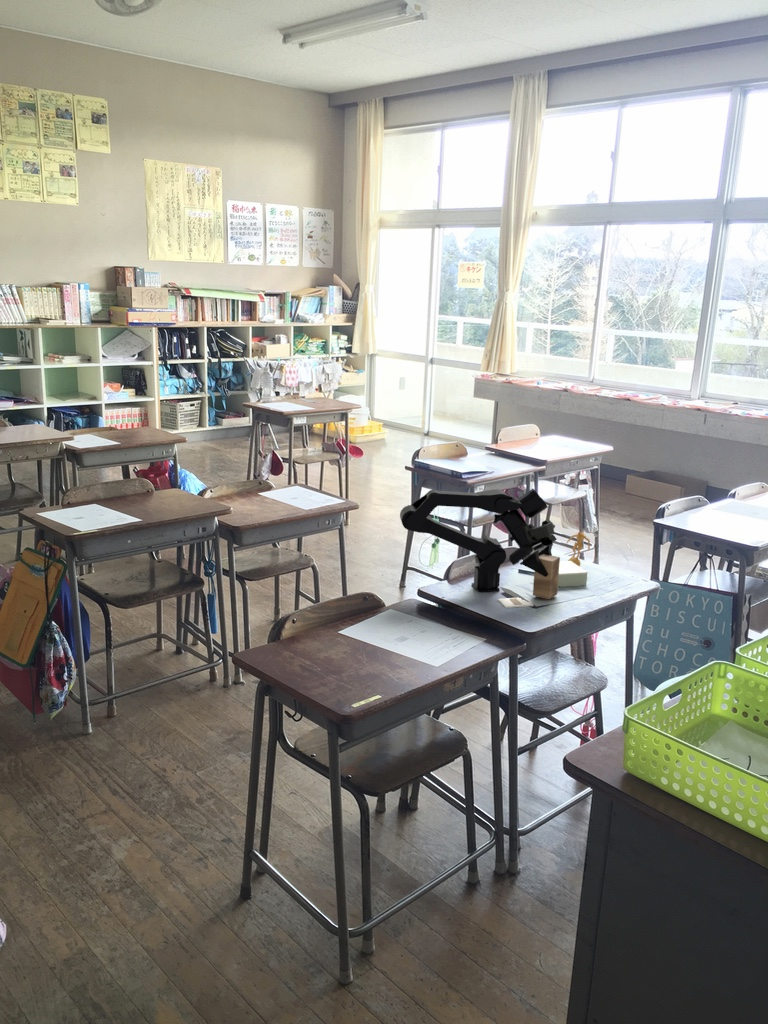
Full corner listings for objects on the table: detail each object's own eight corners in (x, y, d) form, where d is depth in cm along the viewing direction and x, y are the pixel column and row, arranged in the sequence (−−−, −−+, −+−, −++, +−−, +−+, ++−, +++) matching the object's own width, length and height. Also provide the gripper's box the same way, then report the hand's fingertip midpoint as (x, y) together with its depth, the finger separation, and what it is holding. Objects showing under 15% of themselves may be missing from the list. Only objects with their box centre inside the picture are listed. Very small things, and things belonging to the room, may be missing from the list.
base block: (551, 587, 237) (552, 574, 236) (536, 575, 247) (537, 562, 246) (586, 585, 239) (587, 572, 238) (569, 573, 250) (570, 560, 249)
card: (505, 607, 220) (505, 606, 220) (497, 600, 225) (498, 598, 225) (533, 606, 222) (533, 604, 221) (524, 598, 227) (524, 596, 227)
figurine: (558, 567, 255) (561, 530, 252) (569, 563, 259) (572, 527, 256) (581, 574, 249) (584, 536, 246) (592, 570, 253) (595, 533, 250)
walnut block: (549, 599, 225) (552, 561, 222) (532, 595, 228) (535, 557, 225) (556, 594, 229) (559, 557, 226) (540, 590, 232) (543, 553, 229)
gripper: (522, 518, 218) (557, 566, 214) (552, 506, 232) (585, 550, 229) (494, 541, 224) (528, 588, 221) (526, 527, 239) (557, 571, 235)
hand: (551, 573), depth 226 cm, fingers closed on walnut block, 5 cm apart
